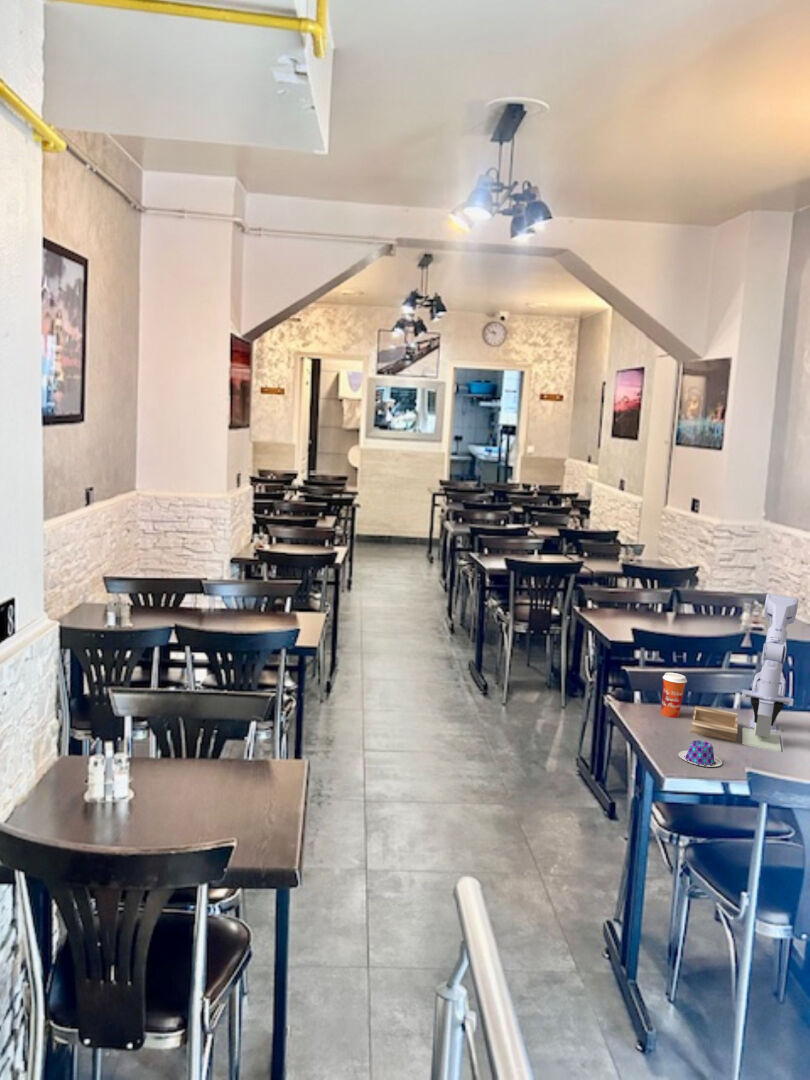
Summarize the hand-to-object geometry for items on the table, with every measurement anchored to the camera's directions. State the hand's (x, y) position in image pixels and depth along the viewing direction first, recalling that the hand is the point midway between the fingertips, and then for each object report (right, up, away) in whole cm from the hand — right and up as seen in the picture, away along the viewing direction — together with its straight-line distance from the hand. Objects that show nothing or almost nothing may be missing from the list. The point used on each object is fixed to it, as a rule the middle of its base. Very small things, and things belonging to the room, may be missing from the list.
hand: (763, 723), depth 269 cm
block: (0, -4, +1) cm, 4 cm away
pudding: (-26, -7, -19) cm, 33 cm away
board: (0, -6, +2) cm, 6 cm away
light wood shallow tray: (-13, -4, +6) cm, 15 cm away
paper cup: (-23, -2, +19) cm, 30 cm away
